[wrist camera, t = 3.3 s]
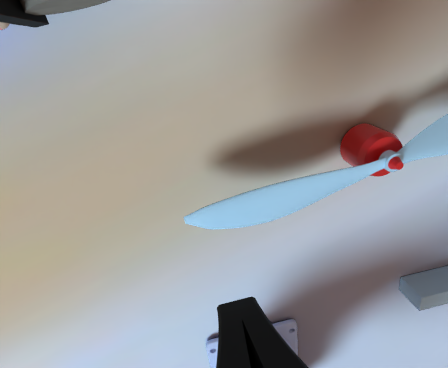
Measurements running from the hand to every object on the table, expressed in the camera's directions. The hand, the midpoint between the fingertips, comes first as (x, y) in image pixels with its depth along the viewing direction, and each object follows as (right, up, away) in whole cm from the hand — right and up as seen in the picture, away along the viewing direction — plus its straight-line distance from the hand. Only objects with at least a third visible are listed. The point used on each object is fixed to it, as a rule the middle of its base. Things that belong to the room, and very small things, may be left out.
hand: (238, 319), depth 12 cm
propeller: (+9, +8, +10) cm, 15 cm away
